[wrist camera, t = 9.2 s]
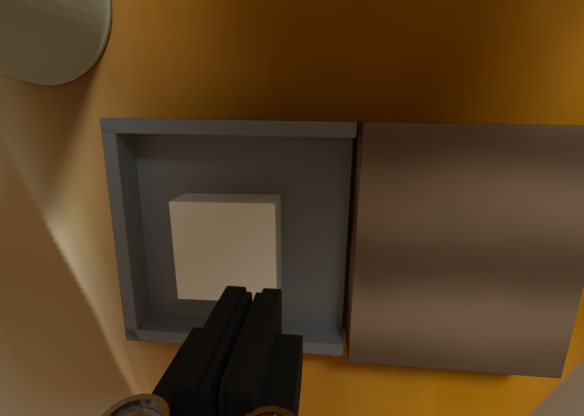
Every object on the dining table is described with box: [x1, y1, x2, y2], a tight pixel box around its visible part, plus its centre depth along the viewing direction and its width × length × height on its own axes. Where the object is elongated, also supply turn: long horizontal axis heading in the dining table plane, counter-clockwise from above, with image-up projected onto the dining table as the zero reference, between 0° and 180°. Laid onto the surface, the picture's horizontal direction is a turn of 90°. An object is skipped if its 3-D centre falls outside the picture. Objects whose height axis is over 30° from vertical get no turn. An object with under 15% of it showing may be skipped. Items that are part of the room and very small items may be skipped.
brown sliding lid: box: [345, 122, 584, 378], centre depth 20 cm, size 14×12×3 cm
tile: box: [169, 193, 282, 301], centre depth 21 cm, size 6×6×2 cm
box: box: [100, 118, 357, 356], centre depth 21 cm, size 14×14×2 cm
